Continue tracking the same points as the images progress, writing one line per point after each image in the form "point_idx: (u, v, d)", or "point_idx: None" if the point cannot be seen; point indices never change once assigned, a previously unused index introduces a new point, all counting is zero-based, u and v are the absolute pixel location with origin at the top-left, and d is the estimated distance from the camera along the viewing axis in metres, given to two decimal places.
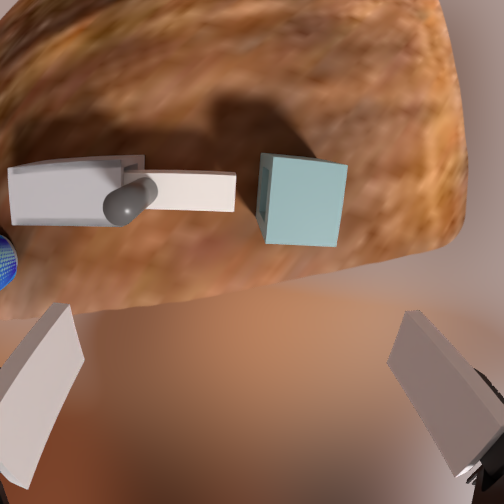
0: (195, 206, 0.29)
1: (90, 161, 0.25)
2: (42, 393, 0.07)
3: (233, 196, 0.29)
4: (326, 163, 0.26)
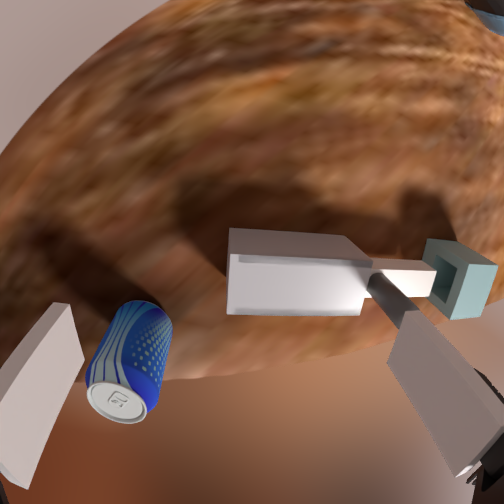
0: (407, 294, 0.34)
1: (344, 260, 0.30)
2: (42, 393, 0.07)
3: (431, 285, 0.34)
4: (490, 265, 0.31)
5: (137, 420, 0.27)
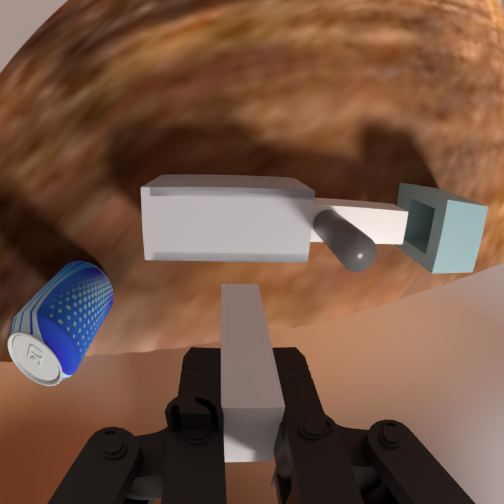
0: (373, 239, 0.29)
1: (276, 189, 0.25)
2: None
3: (404, 230, 0.29)
4: (476, 205, 0.26)
5: (56, 382, 0.23)
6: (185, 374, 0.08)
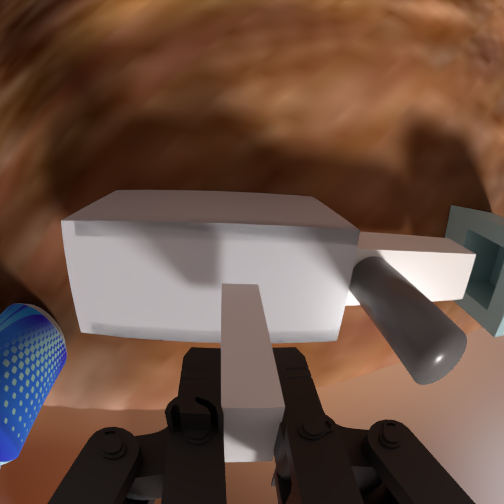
0: (428, 296, 0.18)
1: (293, 227, 0.14)
2: None
3: (467, 280, 0.18)
4: None
5: None
6: (185, 374, 0.08)
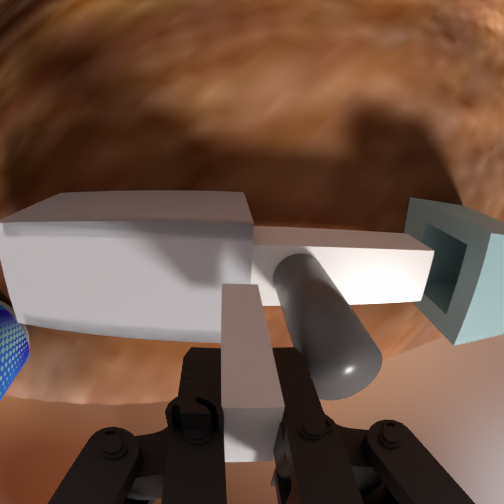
0: (375, 298, 0.18)
1: (179, 223, 0.14)
2: None
3: (425, 280, 0.17)
4: None
5: None
6: (185, 374, 0.08)
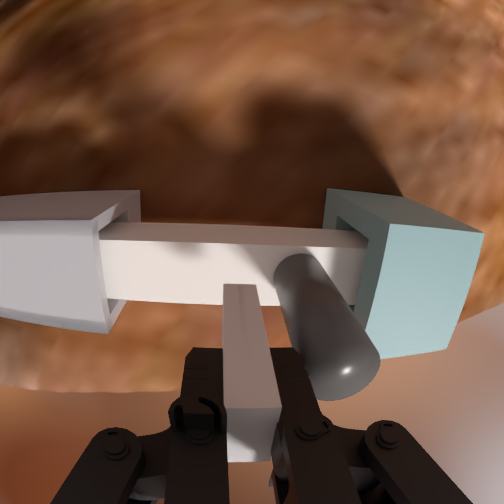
0: None
1: (39, 221, 0.13)
2: None
3: None
4: (461, 232, 0.13)
5: None
6: (187, 374, 0.08)
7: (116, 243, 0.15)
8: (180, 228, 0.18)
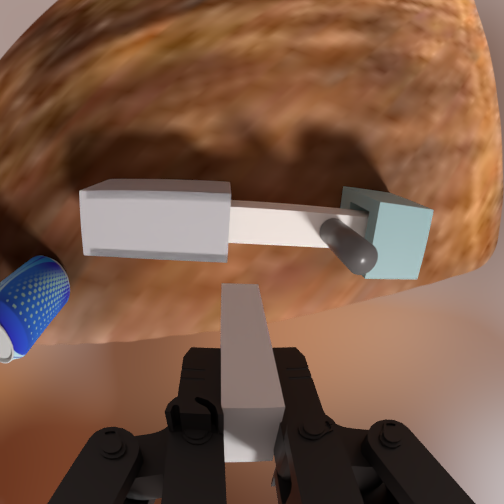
0: None
1: (193, 192, 0.27)
2: None
3: None
4: (418, 208, 0.28)
5: (10, 359, 0.23)
6: (185, 374, 0.08)
7: (236, 208, 0.29)
8: (266, 204, 0.31)
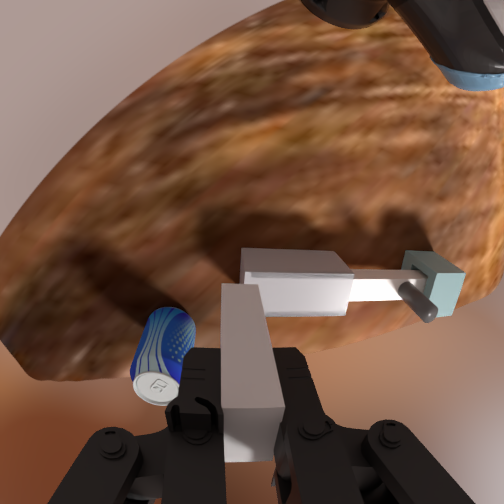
0: None
1: (331, 273, 0.39)
2: None
3: None
4: (457, 273, 0.40)
5: None
6: (185, 374, 0.08)
7: None
8: (365, 272, 0.44)
